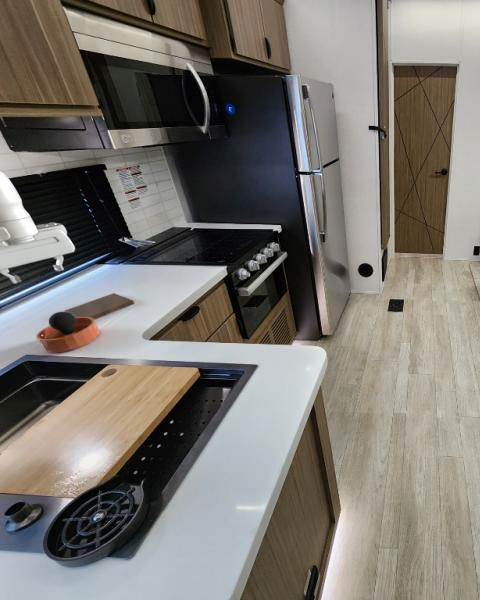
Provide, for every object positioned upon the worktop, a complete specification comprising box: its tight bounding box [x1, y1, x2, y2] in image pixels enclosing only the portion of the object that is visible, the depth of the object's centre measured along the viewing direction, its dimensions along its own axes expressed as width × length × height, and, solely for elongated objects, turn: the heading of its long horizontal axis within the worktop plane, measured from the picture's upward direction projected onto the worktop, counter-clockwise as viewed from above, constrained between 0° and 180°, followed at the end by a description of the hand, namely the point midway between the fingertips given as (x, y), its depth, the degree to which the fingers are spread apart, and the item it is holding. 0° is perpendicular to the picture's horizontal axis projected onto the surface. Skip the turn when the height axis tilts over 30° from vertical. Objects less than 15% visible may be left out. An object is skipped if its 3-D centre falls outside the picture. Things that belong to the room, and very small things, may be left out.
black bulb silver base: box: [48, 311, 76, 336], centre depth 104 cm, size 6×6×10 cm
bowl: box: [36, 317, 101, 353], centre depth 105 cm, size 14×14×5 cm
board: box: [64, 292, 135, 320], centre depth 125 cm, size 16×14×2 cm
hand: (39, 276), depth 96 cm, fingers open, 8 cm apart
